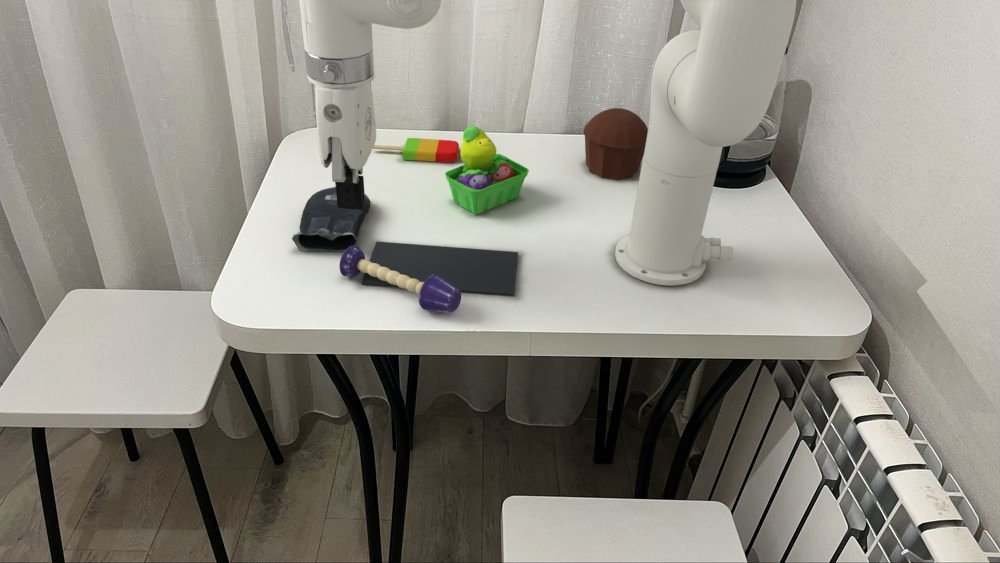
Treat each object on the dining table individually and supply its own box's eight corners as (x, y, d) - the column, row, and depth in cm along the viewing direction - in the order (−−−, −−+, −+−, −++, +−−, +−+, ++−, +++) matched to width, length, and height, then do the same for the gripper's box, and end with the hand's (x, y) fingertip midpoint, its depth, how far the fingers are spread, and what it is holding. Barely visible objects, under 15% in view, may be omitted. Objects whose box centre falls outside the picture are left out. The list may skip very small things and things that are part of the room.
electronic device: (365, 260, 104) (374, 195, 115) (356, 230, 100) (367, 165, 111) (299, 266, 104) (315, 200, 115) (288, 235, 100) (305, 170, 111)
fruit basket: (474, 222, 111) (476, 153, 105) (437, 198, 116) (437, 131, 110) (529, 199, 118) (534, 133, 111) (491, 178, 123) (495, 113, 116)
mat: (517, 254, 105) (517, 251, 104) (514, 296, 97) (514, 294, 96) (376, 243, 105) (376, 241, 105) (361, 284, 97) (361, 282, 97)
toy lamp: (349, 283, 99) (456, 322, 93) (331, 273, 95) (442, 314, 89) (363, 250, 100) (470, 287, 94) (346, 239, 96) (457, 277, 89)
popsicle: (457, 163, 126) (457, 153, 125) (368, 158, 126) (368, 148, 125) (459, 149, 131) (459, 140, 130) (374, 144, 131) (373, 134, 130)
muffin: (583, 149, 134) (590, 96, 128) (645, 157, 132) (655, 104, 126) (575, 179, 124) (582, 123, 118) (642, 188, 122) (652, 132, 117)
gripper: (358, 91, 78) (368, 239, 89) (385, 45, 90) (391, 180, 101) (287, 86, 78) (306, 234, 89) (324, 41, 90) (336, 176, 101)
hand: (351, 205), depth 95 cm, fingers closed
